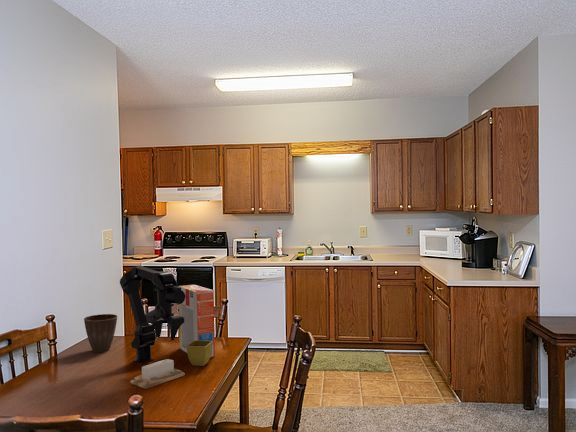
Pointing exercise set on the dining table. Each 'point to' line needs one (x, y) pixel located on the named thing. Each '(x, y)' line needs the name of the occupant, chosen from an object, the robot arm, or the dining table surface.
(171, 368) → the door
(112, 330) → the plant pot
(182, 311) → the pasta box
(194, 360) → the flower pot
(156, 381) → the beige rectangular tray
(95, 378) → the dining table surface
